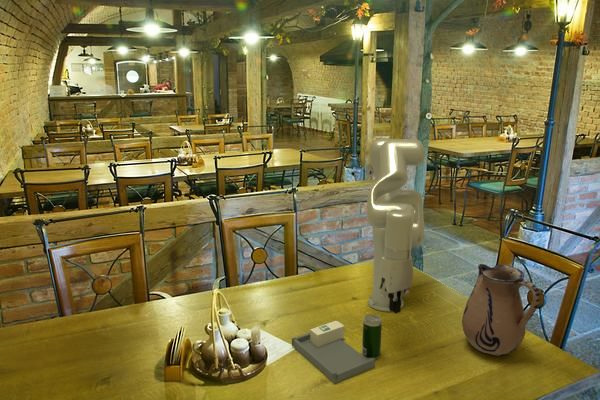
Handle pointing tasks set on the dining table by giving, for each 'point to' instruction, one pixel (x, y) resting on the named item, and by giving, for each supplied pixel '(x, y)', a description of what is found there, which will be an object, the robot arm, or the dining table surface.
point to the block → (326, 333)
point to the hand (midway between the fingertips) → (394, 311)
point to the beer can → (371, 336)
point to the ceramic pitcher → (498, 310)
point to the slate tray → (333, 358)
